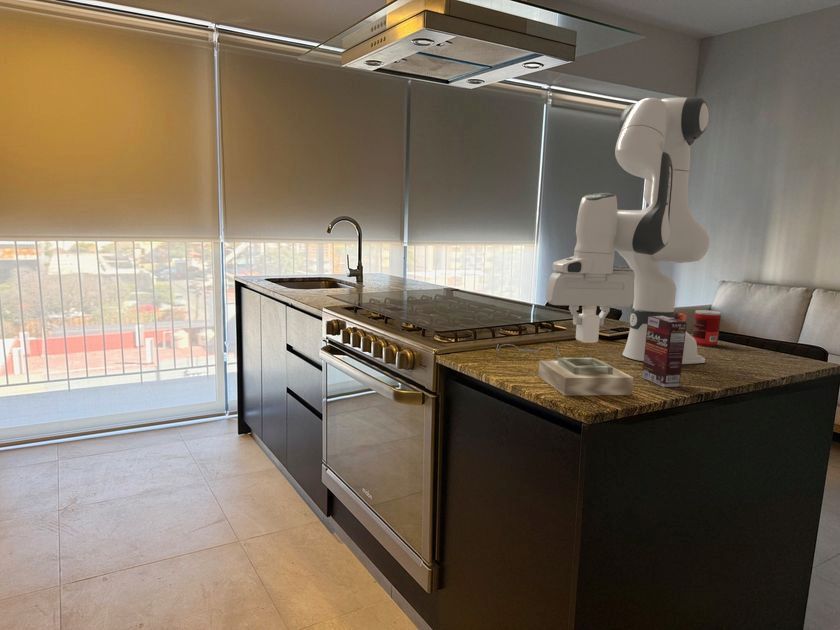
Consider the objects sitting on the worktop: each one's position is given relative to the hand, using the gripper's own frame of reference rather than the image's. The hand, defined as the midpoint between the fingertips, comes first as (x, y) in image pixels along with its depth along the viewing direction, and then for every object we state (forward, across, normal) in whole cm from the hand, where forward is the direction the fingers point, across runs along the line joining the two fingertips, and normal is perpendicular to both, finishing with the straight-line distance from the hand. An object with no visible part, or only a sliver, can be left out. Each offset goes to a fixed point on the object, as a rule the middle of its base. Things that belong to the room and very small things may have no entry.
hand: (587, 324), depth 134 cm
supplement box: (+15, -21, -2) cm, 26 cm away
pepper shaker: (+4, 0, 0) cm, 4 cm away
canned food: (+14, -65, -48) cm, 82 cm away
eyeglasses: (+15, +1, -36) cm, 39 cm away
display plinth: (+14, 0, 0) cm, 14 cm away
